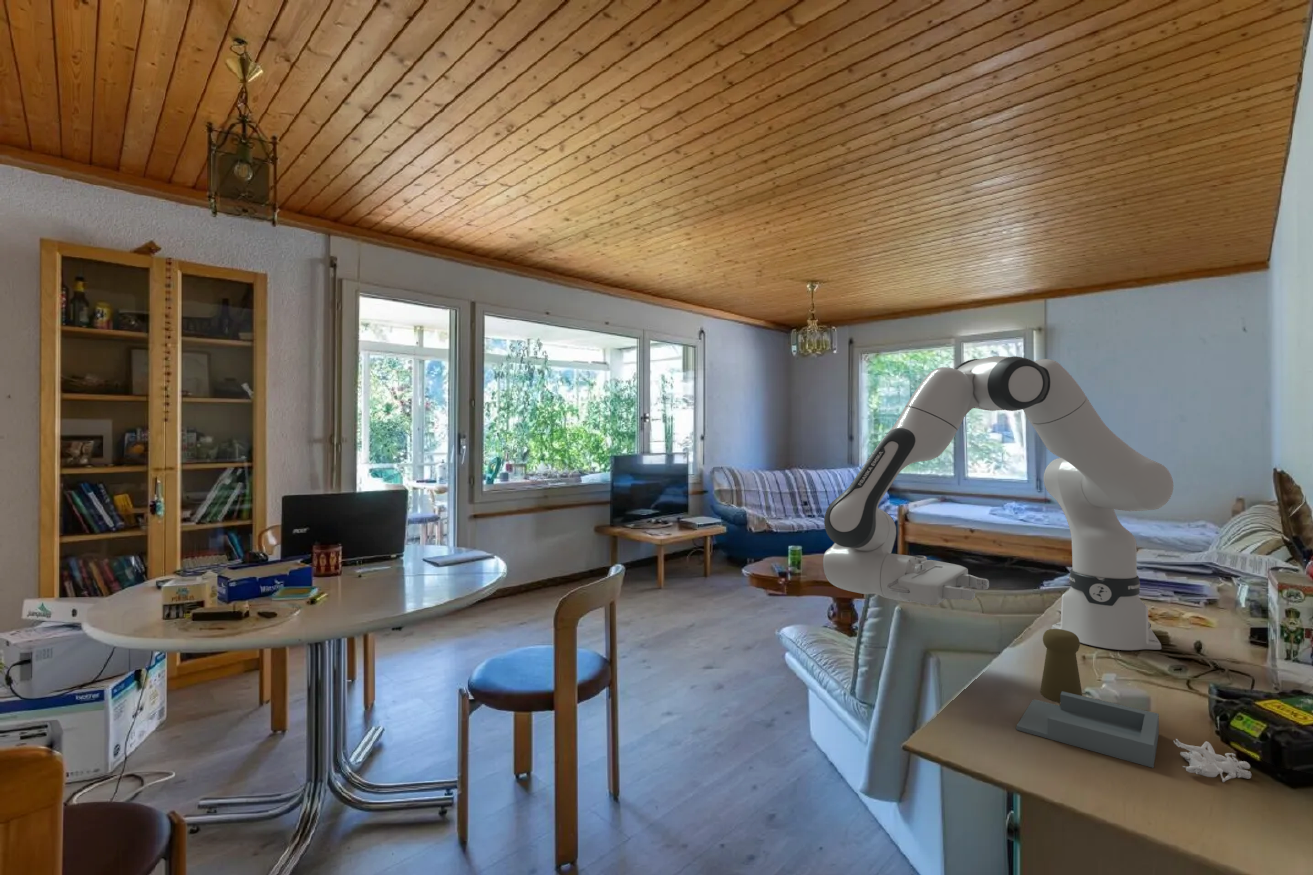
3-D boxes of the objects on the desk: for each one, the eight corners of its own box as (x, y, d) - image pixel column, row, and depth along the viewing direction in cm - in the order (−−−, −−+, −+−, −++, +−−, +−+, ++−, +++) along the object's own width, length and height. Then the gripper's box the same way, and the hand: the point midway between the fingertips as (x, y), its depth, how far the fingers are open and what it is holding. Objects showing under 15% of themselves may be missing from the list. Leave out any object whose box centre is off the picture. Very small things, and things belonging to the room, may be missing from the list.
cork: (1090, 705, 100) (1089, 637, 100) (1049, 702, 101) (1048, 635, 101) (1072, 689, 106) (1072, 626, 106) (1034, 687, 107) (1034, 624, 107)
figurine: (1246, 770, 82) (1262, 796, 75) (1171, 751, 86) (1179, 775, 80) (1247, 747, 82) (1262, 771, 75) (1172, 730, 86) (1180, 751, 80)
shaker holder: (1033, 702, 101) (1033, 684, 101) (1158, 733, 90) (1158, 713, 90) (1016, 729, 92) (1016, 709, 92) (1153, 767, 81) (1153, 745, 81)
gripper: (883, 570, 113) (964, 583, 104) (921, 554, 128) (995, 563, 119) (883, 605, 113) (964, 620, 104) (921, 584, 128) (995, 595, 119)
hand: (981, 589), depth 111 cm, fingers open, 8 cm apart
